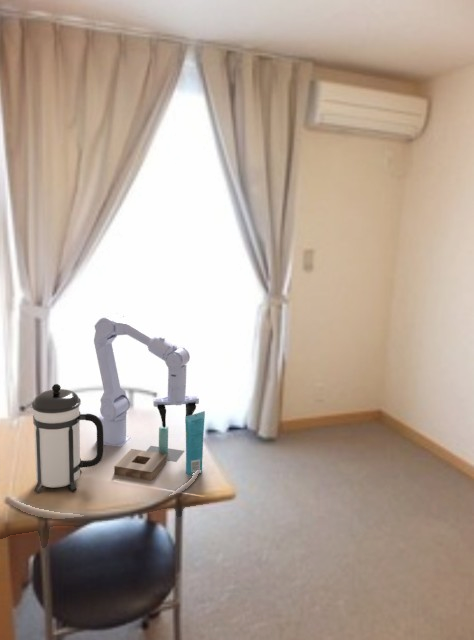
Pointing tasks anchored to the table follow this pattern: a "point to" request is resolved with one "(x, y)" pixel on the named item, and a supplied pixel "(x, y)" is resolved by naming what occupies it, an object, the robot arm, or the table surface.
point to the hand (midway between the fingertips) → (175, 425)
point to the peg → (163, 440)
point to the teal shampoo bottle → (194, 442)
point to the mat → (172, 453)
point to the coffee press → (60, 438)
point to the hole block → (140, 464)
